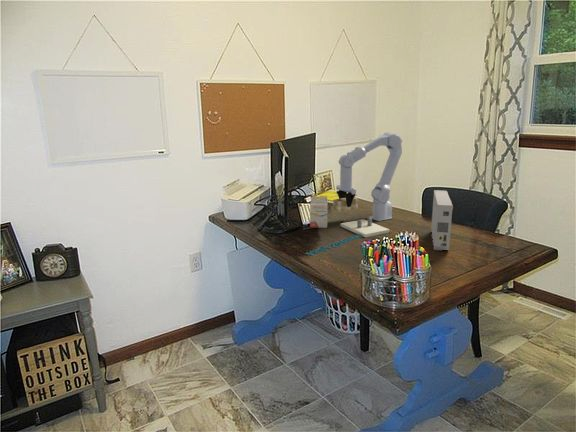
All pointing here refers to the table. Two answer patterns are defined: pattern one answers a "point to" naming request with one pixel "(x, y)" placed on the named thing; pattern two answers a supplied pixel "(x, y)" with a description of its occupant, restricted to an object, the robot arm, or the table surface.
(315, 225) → the ink cartridge box
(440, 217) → the game console
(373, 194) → the robot arm
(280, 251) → the table surface
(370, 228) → the pin board
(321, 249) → the nameplate
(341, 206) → the block
